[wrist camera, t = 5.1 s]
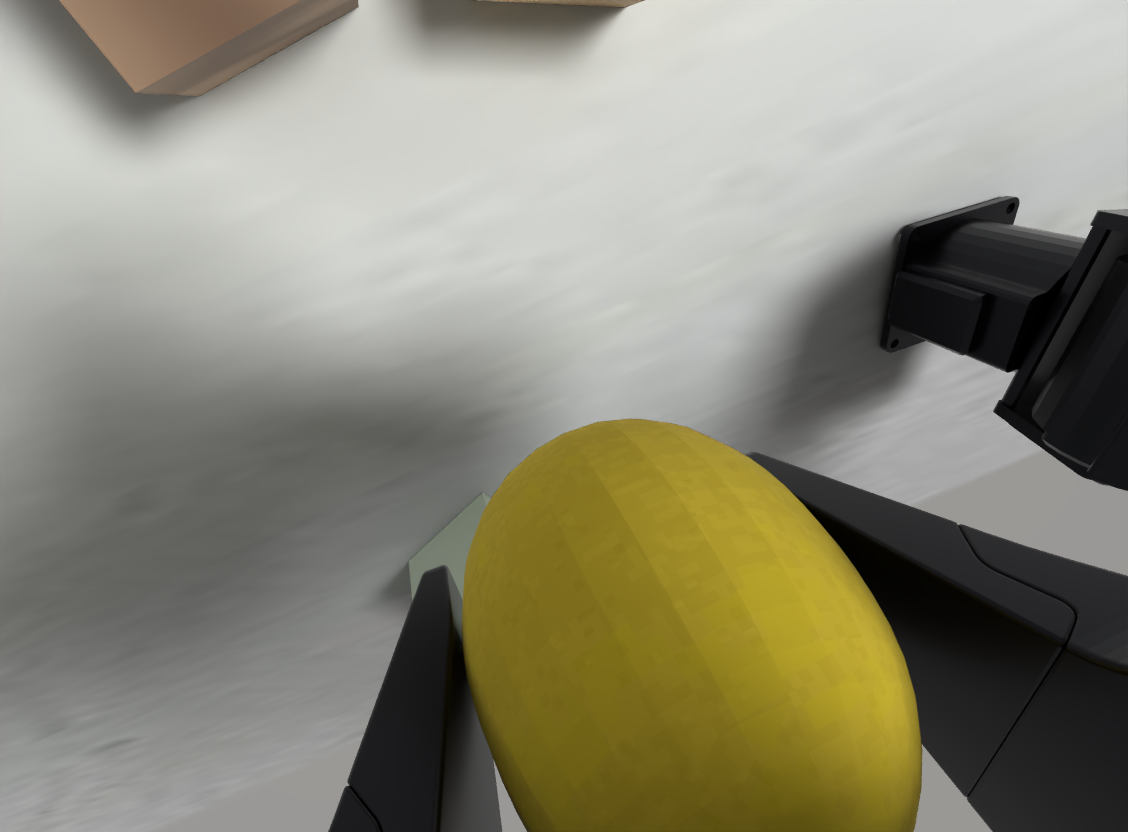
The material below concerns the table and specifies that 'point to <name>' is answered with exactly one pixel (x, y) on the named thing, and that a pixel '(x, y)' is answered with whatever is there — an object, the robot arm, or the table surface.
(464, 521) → the sage block
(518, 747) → the lemon
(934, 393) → the table surface
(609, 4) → the oak block
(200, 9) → the walnut block
